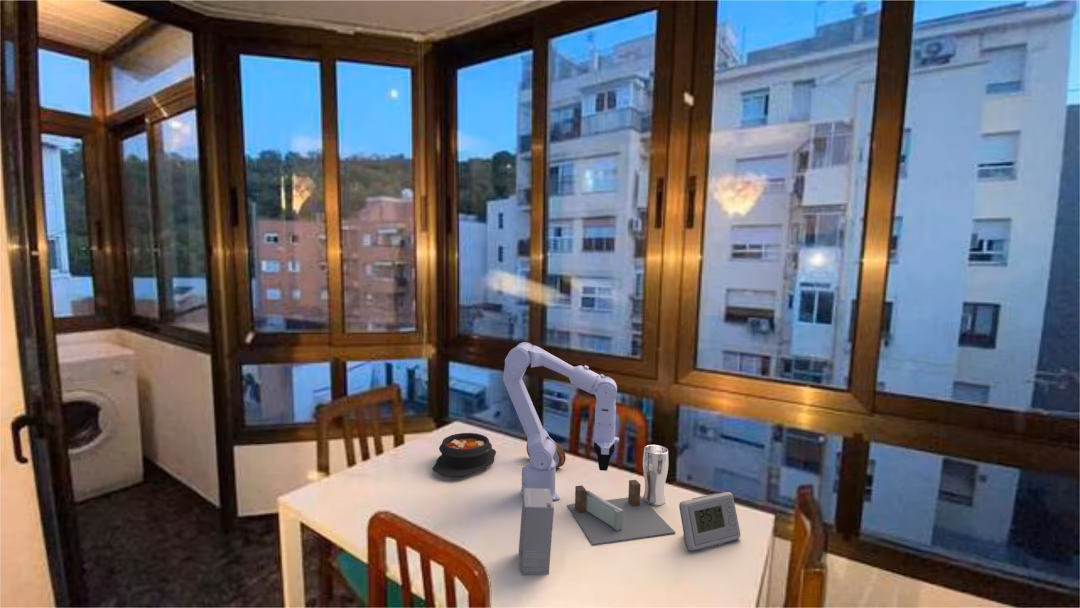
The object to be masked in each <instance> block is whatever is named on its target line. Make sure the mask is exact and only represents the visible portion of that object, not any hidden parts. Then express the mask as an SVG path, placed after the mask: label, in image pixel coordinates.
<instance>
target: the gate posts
mask: <svg viewBox="0 0 1080 608" xmlns="http://www.w3.org/2000/svg"><path fill="white" fill-rule="evenodd" d="M641 486H642V484H641V483H640V482H639V481H637V479H629V480H628V495H627V496H628V497H627V498H628V501H629V503H630V504H631V505H632V506H640V496H641ZM574 489H575V492H574V493H575V494H574V504H575V509H576V510H577V512H578V513H585V512H586V491H587V489H586V488H585V487H584V486H583V485H582V484H581V485H575V488H574Z"/></svg>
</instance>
